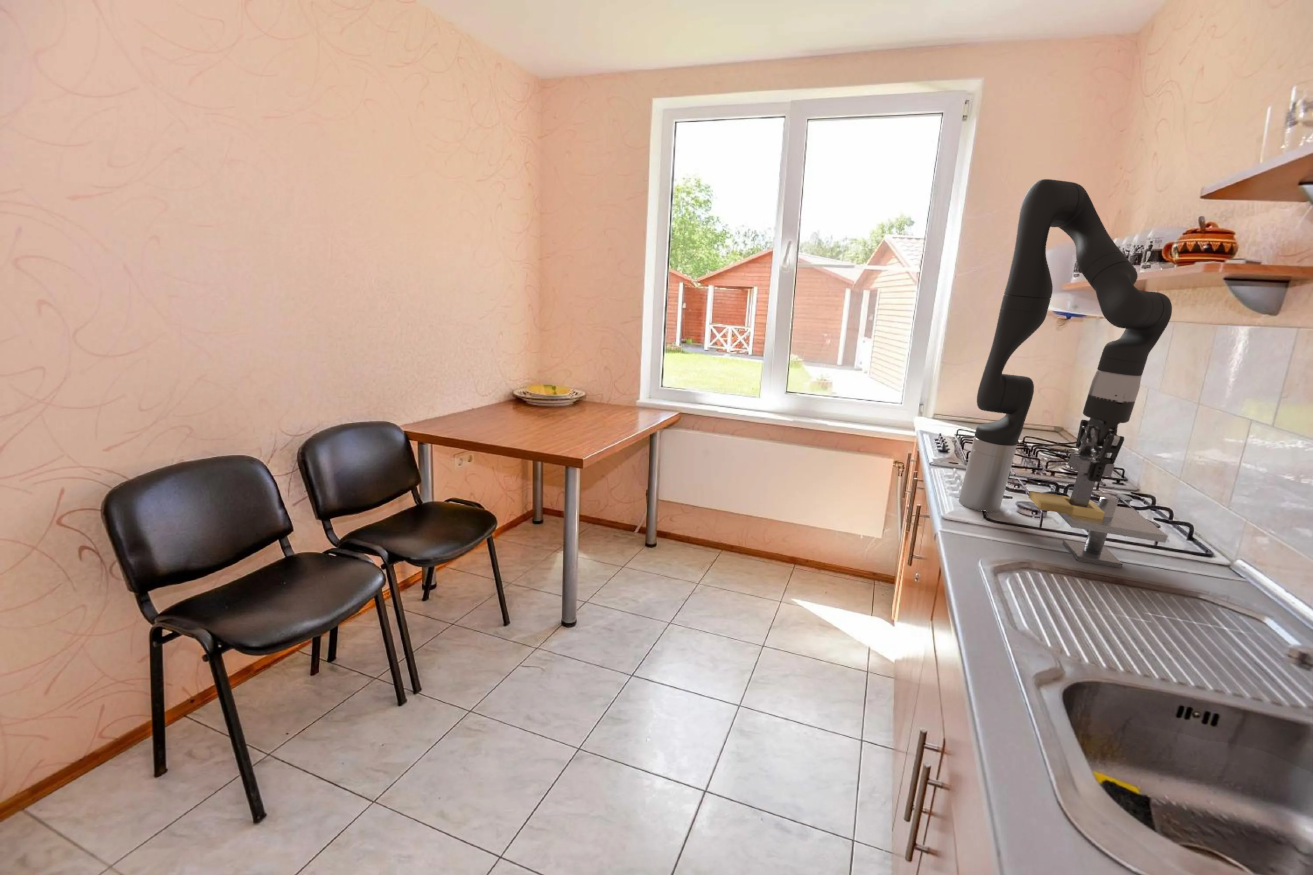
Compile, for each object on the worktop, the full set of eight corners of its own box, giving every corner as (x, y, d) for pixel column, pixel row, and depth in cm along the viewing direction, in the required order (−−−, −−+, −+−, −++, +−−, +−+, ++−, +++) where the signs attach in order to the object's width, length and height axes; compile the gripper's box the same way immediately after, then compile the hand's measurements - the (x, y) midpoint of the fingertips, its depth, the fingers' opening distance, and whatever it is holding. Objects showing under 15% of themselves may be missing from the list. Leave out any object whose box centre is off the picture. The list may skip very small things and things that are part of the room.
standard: (1119, 548, 128) (1137, 493, 124) (1151, 579, 115) (1174, 519, 111) (1037, 534, 131) (1053, 480, 128) (1060, 563, 118) (1078, 504, 115)
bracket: (1088, 506, 124) (1090, 500, 124) (1102, 519, 117) (1104, 512, 117) (1028, 497, 127) (1030, 490, 126) (1039, 509, 120) (1041, 502, 120)
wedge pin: (1055, 507, 125) (1071, 452, 122) (1084, 512, 124) (1102, 456, 120) (1064, 517, 120) (1082, 460, 116) (1095, 522, 119) (1114, 464, 115)
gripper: (1075, 386, 122) (1053, 462, 127) (1106, 400, 109) (1080, 484, 114) (1117, 391, 120) (1093, 468, 125) (1153, 405, 107) (1124, 491, 112)
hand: (1087, 475), depth 119 cm, fingers closed on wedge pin, 5 cm apart
